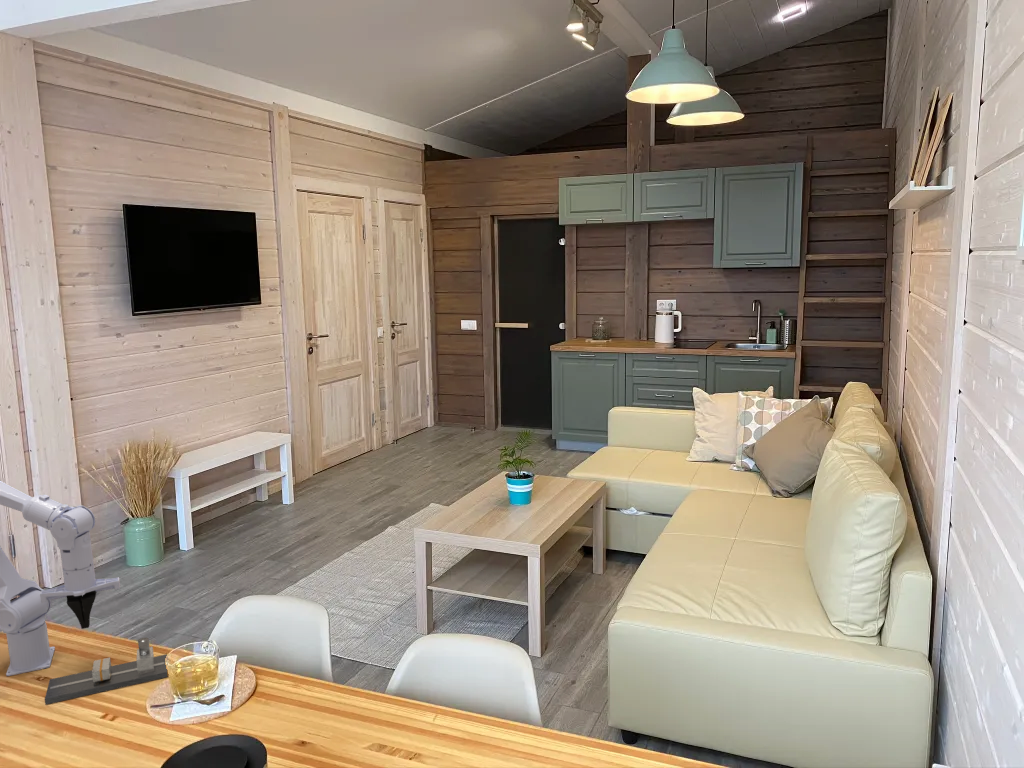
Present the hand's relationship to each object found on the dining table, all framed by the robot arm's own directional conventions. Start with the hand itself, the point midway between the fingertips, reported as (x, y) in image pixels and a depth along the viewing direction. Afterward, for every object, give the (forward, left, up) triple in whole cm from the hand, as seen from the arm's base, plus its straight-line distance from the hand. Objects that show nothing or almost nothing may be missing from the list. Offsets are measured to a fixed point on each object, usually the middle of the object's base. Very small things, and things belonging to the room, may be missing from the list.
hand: (85, 626), depth 162 cm
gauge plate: (+8, +4, -9) cm, 13 cm away
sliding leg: (+8, +3, -8) cm, 12 cm away
